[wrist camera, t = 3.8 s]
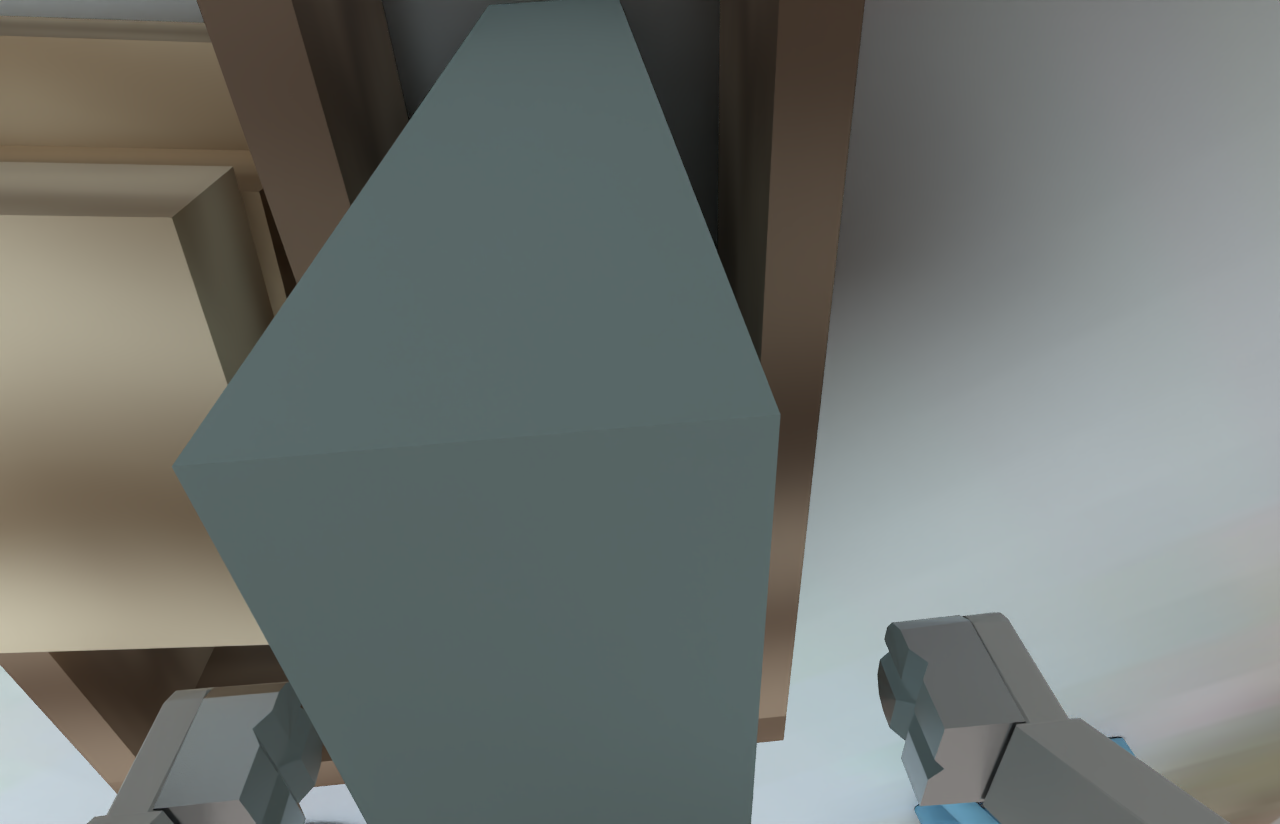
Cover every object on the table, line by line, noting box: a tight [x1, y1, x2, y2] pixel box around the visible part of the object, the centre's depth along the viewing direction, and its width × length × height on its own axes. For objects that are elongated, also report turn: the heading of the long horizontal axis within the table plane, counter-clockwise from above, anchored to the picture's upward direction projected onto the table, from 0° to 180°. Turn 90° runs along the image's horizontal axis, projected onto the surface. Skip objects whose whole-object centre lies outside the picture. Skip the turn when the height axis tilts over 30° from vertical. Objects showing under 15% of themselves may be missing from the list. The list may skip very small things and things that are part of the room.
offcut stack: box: [0, 16, 297, 653], centre depth 15 cm, size 13×7×7 cm, turn 178°
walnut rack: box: [0, 0, 865, 794], centre depth 17 cm, size 21×18×5 cm
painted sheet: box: [172, 0, 781, 824], centre depth 13 cm, size 14×2×14 cm, turn 3°
